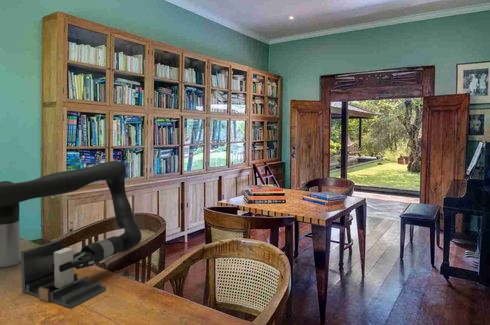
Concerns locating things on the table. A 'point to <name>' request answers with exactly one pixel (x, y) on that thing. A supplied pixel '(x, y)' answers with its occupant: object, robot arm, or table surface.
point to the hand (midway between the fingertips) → (56, 267)
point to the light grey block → (67, 275)
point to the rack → (53, 278)
